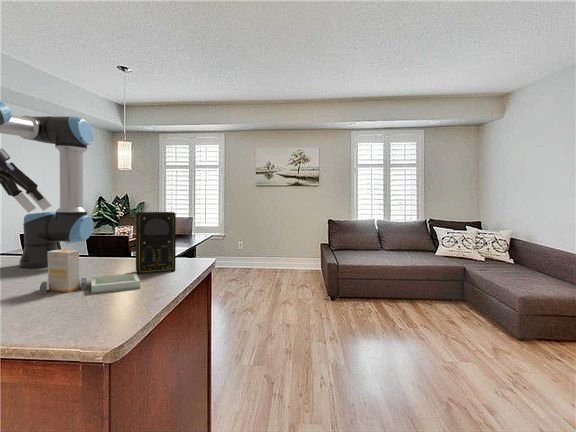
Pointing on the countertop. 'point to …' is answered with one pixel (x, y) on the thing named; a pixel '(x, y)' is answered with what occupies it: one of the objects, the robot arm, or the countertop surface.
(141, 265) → the voltmeter
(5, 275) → the countertop surface
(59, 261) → the supplement box
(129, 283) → the tray
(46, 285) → the grey small blocks
